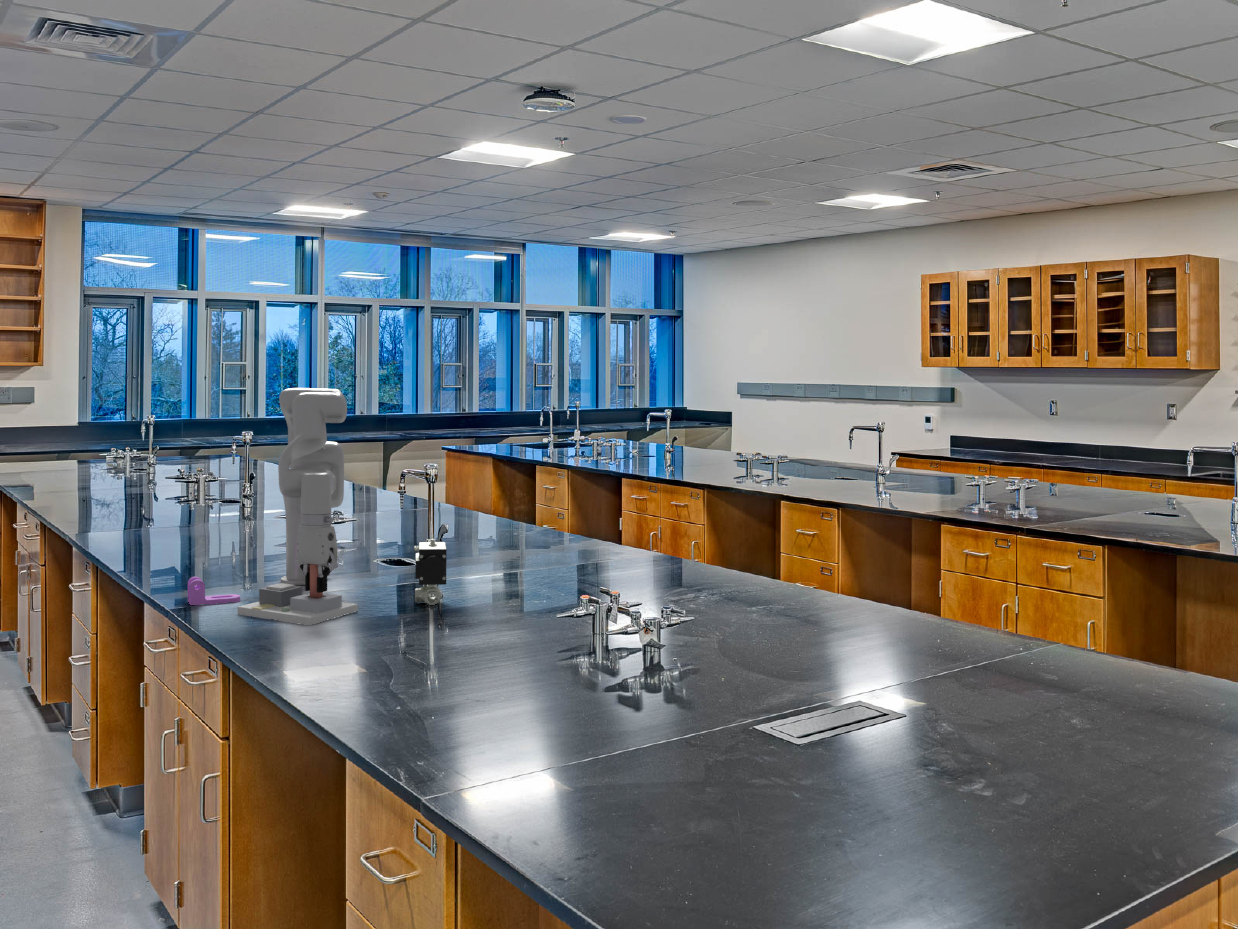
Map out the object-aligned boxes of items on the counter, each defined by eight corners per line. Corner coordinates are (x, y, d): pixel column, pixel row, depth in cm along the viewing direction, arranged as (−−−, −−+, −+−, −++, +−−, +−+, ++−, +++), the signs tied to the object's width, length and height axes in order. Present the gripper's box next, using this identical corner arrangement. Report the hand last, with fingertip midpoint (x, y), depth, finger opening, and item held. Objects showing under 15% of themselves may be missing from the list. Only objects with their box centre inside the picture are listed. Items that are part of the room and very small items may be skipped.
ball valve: (414, 596, 287) (414, 534, 286) (444, 596, 289) (445, 534, 287) (413, 611, 270) (414, 544, 268) (446, 610, 271) (446, 544, 270)
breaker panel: (288, 601, 278) (288, 579, 277) (357, 611, 267) (357, 589, 267) (237, 614, 261) (237, 591, 261) (309, 625, 251) (309, 601, 251)
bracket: (190, 606, 270) (189, 580, 269) (187, 602, 274) (187, 577, 274) (241, 602, 276) (241, 577, 275) (238, 598, 281) (238, 573, 280)
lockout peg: (315, 595, 263) (315, 560, 263) (325, 596, 262) (325, 562, 261) (307, 597, 260) (307, 562, 260) (316, 598, 259) (316, 563, 258)
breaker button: (280, 597, 270) (280, 583, 270) (294, 599, 268) (294, 585, 268) (266, 601, 265) (266, 586, 265) (281, 603, 263) (281, 588, 263)
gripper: (351, 521, 260) (351, 591, 261) (301, 516, 267) (302, 585, 268) (331, 524, 253) (331, 597, 254) (281, 519, 260) (281, 590, 261)
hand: (316, 590), depth 261 cm, fingers closed on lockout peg, 3 cm apart
